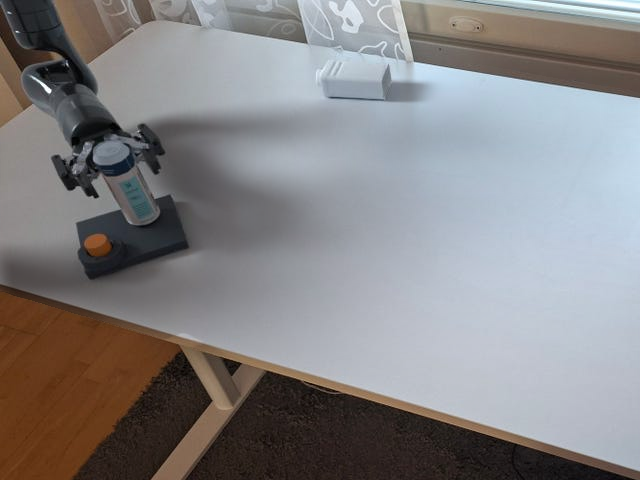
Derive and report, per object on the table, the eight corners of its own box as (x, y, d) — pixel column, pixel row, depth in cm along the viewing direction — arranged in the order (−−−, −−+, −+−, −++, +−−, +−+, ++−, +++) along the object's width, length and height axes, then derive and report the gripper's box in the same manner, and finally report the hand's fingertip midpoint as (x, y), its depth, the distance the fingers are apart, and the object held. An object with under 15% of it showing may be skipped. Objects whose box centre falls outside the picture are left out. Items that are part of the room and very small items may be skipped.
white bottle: (325, 79, 127) (320, 57, 123) (392, 82, 125) (389, 60, 122) (315, 98, 123) (309, 76, 119) (384, 102, 121) (380, 79, 118)
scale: (90, 283, 95) (79, 268, 92) (80, 229, 102) (70, 214, 100) (190, 251, 98) (183, 235, 96) (173, 201, 106) (166, 185, 103)
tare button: (91, 260, 94) (85, 250, 93) (88, 247, 96) (82, 237, 94) (113, 253, 95) (107, 243, 93) (110, 240, 96) (104, 231, 95)
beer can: (141, 204, 103) (105, 135, 94) (168, 210, 102) (133, 141, 93) (121, 224, 100) (81, 155, 91) (148, 230, 99) (110, 161, 90)
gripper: (27, 123, 97) (58, 177, 88) (126, 89, 102) (164, 138, 93) (55, 167, 103) (86, 222, 94) (146, 133, 108) (184, 183, 99)
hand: (125, 180), depth 94 cm, fingers open, 8 cm apart
